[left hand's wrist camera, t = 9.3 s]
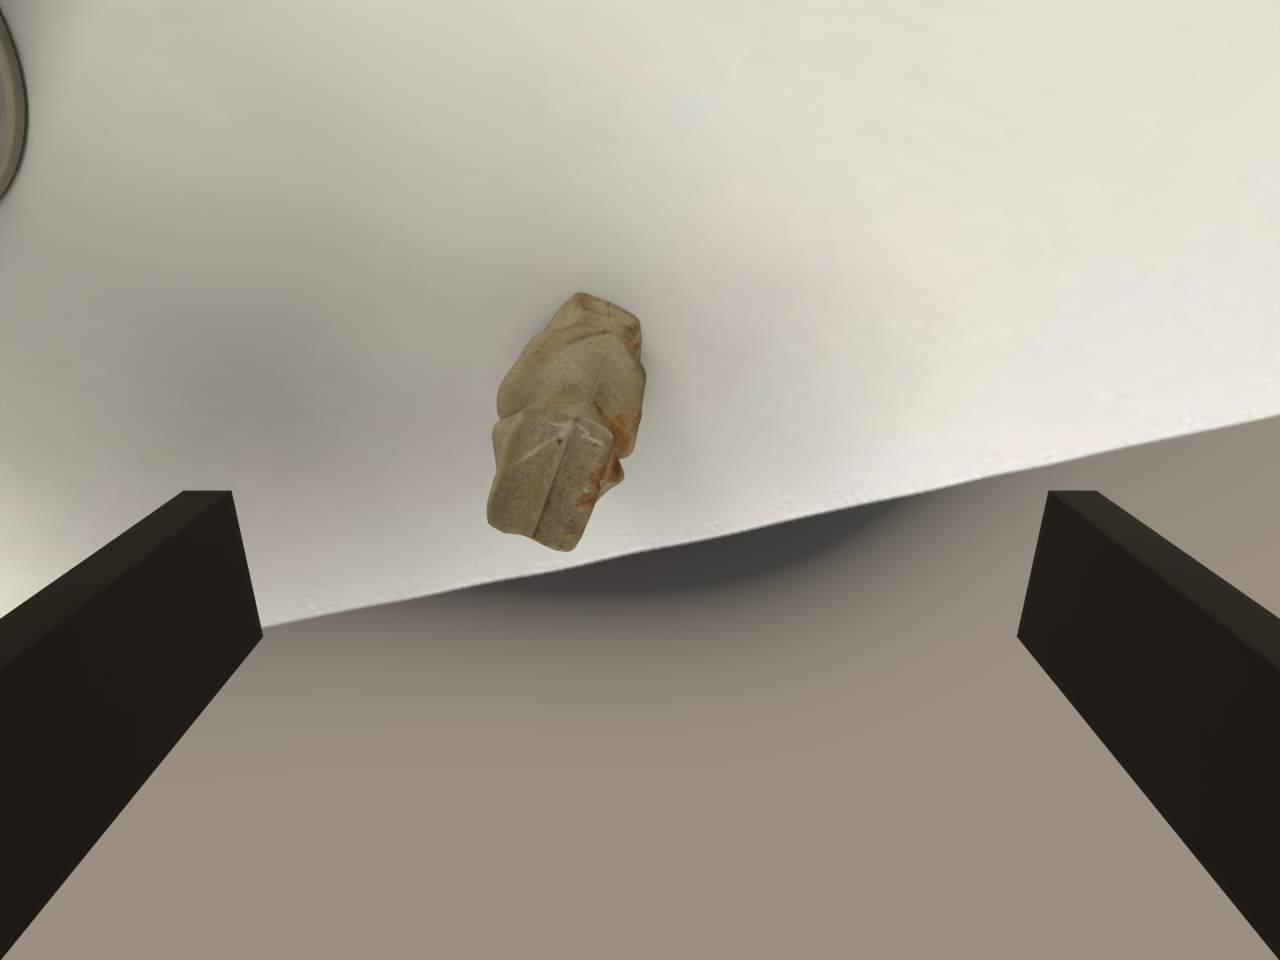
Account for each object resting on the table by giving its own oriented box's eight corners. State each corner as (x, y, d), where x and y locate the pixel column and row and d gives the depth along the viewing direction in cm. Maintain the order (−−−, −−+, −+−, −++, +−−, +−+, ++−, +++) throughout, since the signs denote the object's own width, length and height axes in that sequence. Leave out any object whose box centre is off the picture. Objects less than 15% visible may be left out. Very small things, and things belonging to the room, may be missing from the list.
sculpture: (504, 397, 40) (432, 520, 26) (561, 268, 37) (514, 326, 23) (607, 444, 40) (589, 587, 27) (668, 321, 38) (684, 407, 24)
